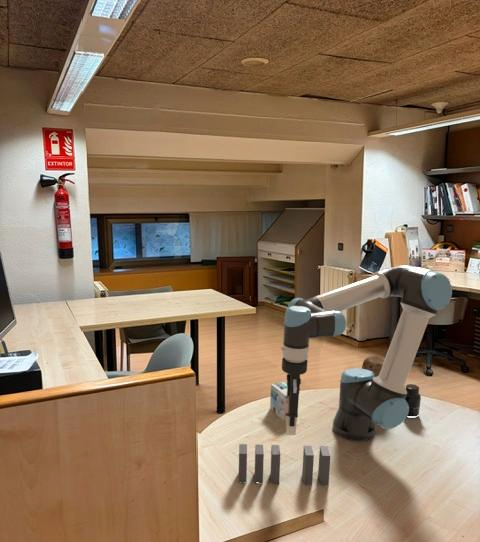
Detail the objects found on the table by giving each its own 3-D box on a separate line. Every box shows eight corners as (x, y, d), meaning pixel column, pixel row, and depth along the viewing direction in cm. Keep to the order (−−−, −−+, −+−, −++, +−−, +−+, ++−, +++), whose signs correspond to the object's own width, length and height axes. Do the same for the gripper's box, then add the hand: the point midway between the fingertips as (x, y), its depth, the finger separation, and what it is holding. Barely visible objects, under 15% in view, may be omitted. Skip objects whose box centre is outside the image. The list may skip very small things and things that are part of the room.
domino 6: (325, 474, 143) (327, 446, 141) (328, 485, 138) (330, 455, 136) (318, 474, 143) (319, 445, 141) (320, 485, 138) (322, 455, 136)
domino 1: (246, 472, 143) (247, 444, 141) (246, 483, 138) (247, 453, 136) (238, 472, 143) (239, 444, 141) (238, 483, 138) (239, 453, 136)
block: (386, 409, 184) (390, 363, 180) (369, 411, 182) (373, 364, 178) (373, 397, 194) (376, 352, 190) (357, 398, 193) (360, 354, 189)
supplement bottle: (416, 420, 176) (419, 392, 173) (398, 415, 179) (401, 387, 177) (420, 413, 182) (423, 385, 179) (402, 408, 185) (405, 381, 183)
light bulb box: (269, 408, 183) (270, 383, 181) (283, 405, 186) (284, 380, 184) (283, 421, 174) (284, 395, 172) (298, 417, 177) (299, 392, 175)
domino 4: (293, 425, 143) (295, 396, 141) (294, 434, 138) (296, 404, 136) (285, 425, 143) (287, 396, 141) (286, 434, 138) (288, 403, 136)
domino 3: (278, 473, 143) (279, 445, 141) (279, 484, 138) (280, 454, 136) (270, 473, 143) (271, 444, 141) (271, 483, 138) (272, 454, 136)
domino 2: (262, 473, 143) (263, 444, 141) (262, 483, 138) (263, 454, 136) (254, 473, 143) (255, 444, 141) (254, 483, 138) (255, 454, 136)
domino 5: (309, 474, 143) (311, 445, 141) (312, 484, 138) (313, 455, 136) (302, 474, 143) (303, 445, 141) (304, 484, 138) (305, 455, 136)
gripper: (281, 346, 145) (277, 413, 149) (283, 369, 127) (279, 445, 132) (304, 347, 144) (300, 415, 149) (310, 371, 127) (305, 446, 131)
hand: (290, 429), depth 140 cm, fingers closed on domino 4, 5 cm apart
